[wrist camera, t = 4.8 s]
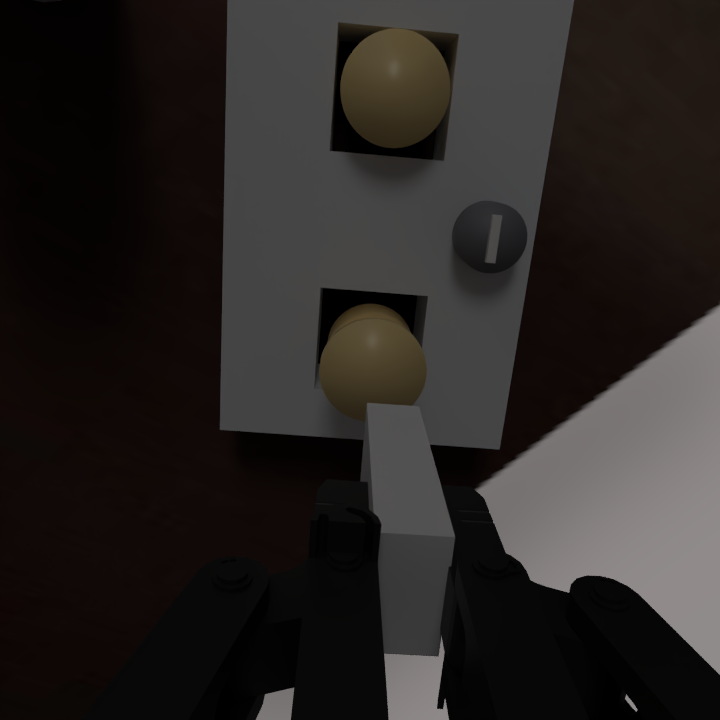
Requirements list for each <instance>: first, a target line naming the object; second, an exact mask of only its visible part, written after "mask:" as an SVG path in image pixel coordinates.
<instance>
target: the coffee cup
mask: <svg viewBox="0 0 720 720" xmlns="http://www.w3.org/2000/svg"><path fill="white" fill-rule="evenodd" d="M34 1H39V2H53V1H63V0H34Z"/></svg>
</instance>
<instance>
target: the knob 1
mask: <svg viewBox="0 0 720 720" xmlns="http://www.w3.org/2000/svg"><path fill="white" fill-rule="evenodd" d="M340 94H341V102H342V106H343V110H344V112H345V115H346V117H347V119H348V121H349V123H350V124H351V126H352V127H353V128H354V129H355V131H356V132H357V133H358V134H359V135H361V136H362V137H363V138H364V139H366V140H367V141H369V142H371V143H373V144H375V145H378V146H381V147H386V148H402V147H406V146H410V145H413V144H415V143H418V142H419V141H421V140H423V139H424V138H426V137H427V136H428V135H429V134H430V133H431V132H432V131H433V130H434V129H435V128H436V127H437V126H438V124H439V123H440V121H441V120H442V118H443V116H444V114H445V112H446V109H447V106H448V103H449V97H450V77H449V72H448V68H447V65H446V63H445V61H444V58H443V57H442V55H441V53H440V52H439V50H438V49H437V48H436V47H435V45H434V44H433V43H431V42H430V41H429V40H428V39H427V38H425V37H424V36H422V35H420V34H418V33H416V32H414V31H411V30H407V29H400V28H392V29H385V30H382V31H378V32H376V33H374V34H372V35H370V36H368V37H367V38H365V39H364V40H363V41H362V42H360V43H359V44H358V45H357V47H356V48H355V49H354V50H353V51H352V53H351V54H350V56H349V58H348V59H347V61H346V64H345V66H344V69H343V72H342V76H341V84H340Z"/></svg>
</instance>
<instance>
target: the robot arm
mask: <svg viewBox="0 0 720 720" xmlns="http://www.w3.org/2000/svg"><path fill="white" fill-rule="evenodd" d="M441 635H442V640H443V646H444V651H445V654H444V661H443V668H442V675H441V683H440V689H439V697H438V706H437V709H443V705H444V699H445V698H446V703H447V709H448V716H449V720H720V675H719V674H718V673H717V672H716V671H715V670H714V669H713V668H712V667H711V666H710V665H709V664H708V663H707V662H706V661H705V660H704V659H703V658H702V657H701V656H700V655H699V654H698V653H697V652H696V651H695V650H694V649H693V648H692V647H691V646H690V645H689V644H688V643H687V642H686V641H685V640H684V639H683V638H682V637H681V636H680V635H679V634H678V633H677V632H676V631H675V630H674V629H673V628H672V627H671V626H670V625H669V624H668V623H667V622H666V621H665V620H664V619H663V618H662V617H661V616H660V615H659V614H658V613H657V612H656V611H655V610H654V609H653V608H652V607H651V606H650V605H649V604H648V603H647V602H646V601H645V600H644V599H643V598H642V597H641V596H640V595H639V594H637V593H636V592H635V591H633V590H632V589H631V588H629V587H628V586H626V585H624V584H622V583H620V582H618V581H616V580H614V579H610V578H606V577H602V576H584V577H580V578H577V579H576V580H575V581H574V582H573V583H572V584H571V587H570V592H569V593H567V592H563V591H560V590H556V589H552V588H549V587H545V586H542V585H540V584H537V583H534V582H533V581H531V580H530V578H529V576H528V574H527V571H526V570H525V569H524V567H523V565H522V564H521V563H520V562H519V561H518V560H516V559H515V558H513V557H512V556H511V555H508V554H506V553H505V550H504V548H503V545H502V542H501V540H500V537H499V535H498V532H497V530H496V527H495V525H494V523H493V520H492V517H491V515H490V513H489V510H488V507H487V505H486V502H485V500H484V498H483V497H482V496H481V495H480V494H479V493H478V492H476V491H475V490H474V489H473V488H472V487H464V486H448V485H441V484H440V480H439V477H438V473H437V469H436V466H435V462H434V459H433V455H432V451H431V448H430V444H429V441H428V437H427V433H426V430H425V426H424V422H423V419H422V415H421V412H420V408H419V406H407V405H392V404H377V403H367V408H366V420H365V431H364V443H363V454H362V466H361V478H360V481H346V480H330V479H327V480H326V481H325V482H324V483H323V484H322V485H321V486H320V487H319V488H318V489H317V496H316V505H315V513H314V514H313V516H312V519H311V525H310V541H309V556H308V558H307V559H306V560H305V561H304V562H303V563H302V564H301V565H299V566H298V567H296V568H294V569H291V570H289V571H286V572H282V573H277V574H271V575H269V574H268V571H267V569H266V568H265V567H264V566H263V565H262V564H260V563H259V562H258V561H255V560H252V559H249V558H246V557H234V556H232V557H226V558H219V559H217V560H214V561H212V562H210V563H207V564H206V565H205V566H204V567H202V568H201V569H200V570H199V571H198V572H197V573H196V574H195V576H194V577H193V578H192V579H191V581H190V582H189V583H188V584H187V586H186V587H185V588H184V590H183V591H182V592H181V593H180V595H179V596H178V597H177V598H176V600H175V601H174V602H173V603H172V605H171V606H170V607H169V609H168V610H167V611H166V612H165V614H164V615H163V616H162V617H161V619H160V620H159V621H158V622H157V624H156V625H155V626H154V627H153V629H152V630H151V631H150V633H149V634H148V635H147V636H146V638H145V639H144V640H143V641H142V643H141V644H140V645H139V646H138V648H137V649H136V650H135V652H134V653H133V654H132V655H131V657H130V658H129V659H128V660H127V662H126V663H125V664H124V665H123V667H122V668H121V669H120V671H119V672H118V673H117V674H116V676H115V677H114V678H113V679H112V681H111V682H110V683H109V684H108V686H107V687H106V688H105V689H104V691H103V692H102V693H101V695H100V696H99V697H98V698H97V700H96V701H95V702H94V703H93V705H92V706H91V707H90V708H89V710H88V711H87V712H86V714H85V715H84V716H83V717H82V719H81V720H256V717H257V715H258V713H259V711H260V709H261V707H262V704H263V700H264V696H265V694H268V693H272V692H276V691H280V690H285V689H289V688H293V687H294V696H293V697H294V698H293V706H292V716H291V720H388V706H387V690H386V675H385V661H384V653H386V654H404V655H423V656H438V655H439V648H440V641H441ZM626 694H627V695H628V697H629V698H630V699H631V700H632V702H633V703H634V704H635V706H636V708H637V709H638V711H637V712H636V711H635V710H634V709H633V708H632V707H631V706H630V705H629V704H628V703H627V701H626V700H625V696H626Z"/></svg>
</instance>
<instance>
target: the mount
mask: <svg viewBox="0 0 720 720" xmlns="http://www.w3.org/2000/svg"><path fill="white" fill-rule="evenodd" d="M573 3H574V0H228V12H227V67H226V123H225V179H224V234H223V290H222V346H221V401H220V430H231V431H245V432H260V433H274V434H288V435H302V436H316V437H331V438H345V439H359V440H364V431H365V421H359V420H355V419H353V418H350V417H348V416H346V415H344V414H343V413H341V412H340V411H338V410H337V409H336V408H335V407H334V406H333V405H332V404H331V403H330V401H329V400H328V399H327V397H326V395H325V394H324V391H323V389H322V386H321V382H320V376H319V367H320V364H318V357H319V342H320V327H321V312H322V297H323V288H333V289H345V290H358V291H370V292H383V293H395V294H408V295H417V303H416V311H415V320H414V329H413V336H414V337H415V338H416V340H417V341H418V342H419V344H420V346H421V348H422V351H423V353H424V356H425V360H426V366H427V375H426V381H425V385H424V388H423V390H422V392H421V394H420V396H419V398H418V399H417V401H416V402H415V403H414V404H413V405H412V406H419V408H420V412H421V415H422V419H423V422H424V426H425V430H426V433H427V437H428V441H429V444H430V445H445V446H459V447H473V448H487V449H500V443H501V437H502V431H503V425H504V419H505V413H506V407H507V401H508V395H509V389H510V383H511V376H512V370H513V364H514V358H515V352H516V346H517V340H518V334H519V328H520V322H521V316H522V310H523V304H524V298H525V292H526V286H527V280H528V274H529V268H530V262H531V256H532V250H533V244H534V238H535V232H536V226H537V220H538V214H539V208H540V202H541V196H542V190H543V184H544V178H545V172H546V166H547V160H548V154H549V148H550V141H551V135H552V129H553V123H554V117H555V111H556V105H557V99H558V93H559V87H560V81H561V75H562V69H563V63H564V57H565V51H566V45H567V39H568V33H569V27H570V21H571V15H572V9H573ZM392 28H400V29H407V30H411V31H414V32H416V33H418V34H420V35H422V36H424V37H425V38H427V39H428V40H429V41H430V42H431V43H433V44H434V45H435V47H436V48H437V49H438V50H439V51H445V55H444V61H445V63H446V65H447V68H448V72H449V77H450V97H449V103H448V106H447V109H446V112H445V114H444V116H443V118H442V120H441V121H440V123H439V124H438V126H437V127H436V135H435V144H434V153H433V160H427V159H416V158H405V157H393V156H382V155H371V154H360V153H348V152H337V151H332V148H333V133H334V118H335V103H336V88H337V73H338V58H339V43H340V41H345V42H356V43H360V42H362V41H363V40H364V39H365V38H367V37H368V36H370V35H372V34H374V33H376V32H378V31H382V30H385V29H392Z"/></svg>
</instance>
